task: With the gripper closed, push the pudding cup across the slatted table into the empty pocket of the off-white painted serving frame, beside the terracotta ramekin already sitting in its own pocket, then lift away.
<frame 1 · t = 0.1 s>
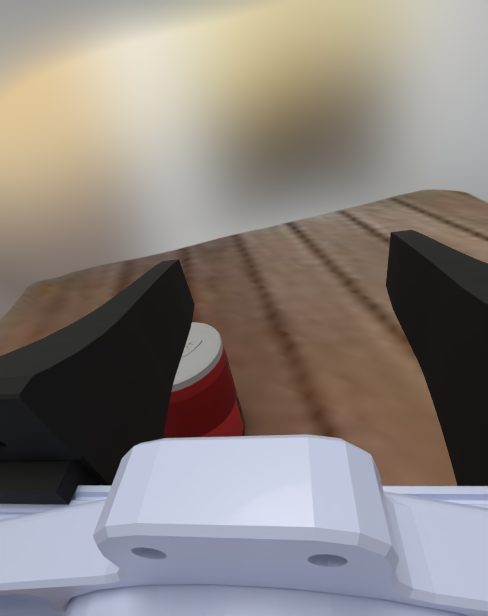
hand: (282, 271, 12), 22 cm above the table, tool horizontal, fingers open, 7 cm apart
canned food: (206, 436, 32), on the table
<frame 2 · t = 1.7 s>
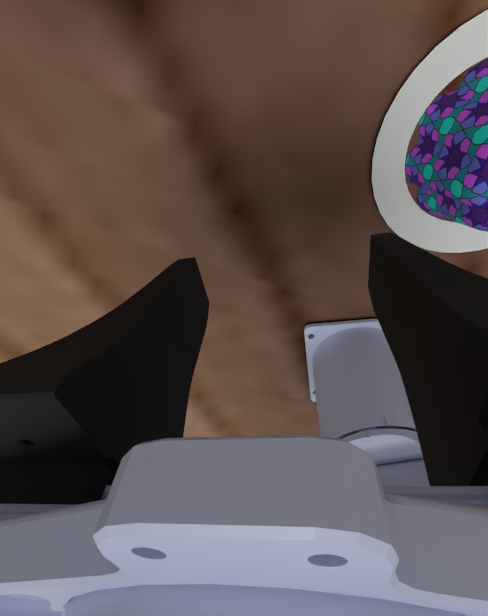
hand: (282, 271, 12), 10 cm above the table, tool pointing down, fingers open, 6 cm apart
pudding: (484, 145, 18), on the table
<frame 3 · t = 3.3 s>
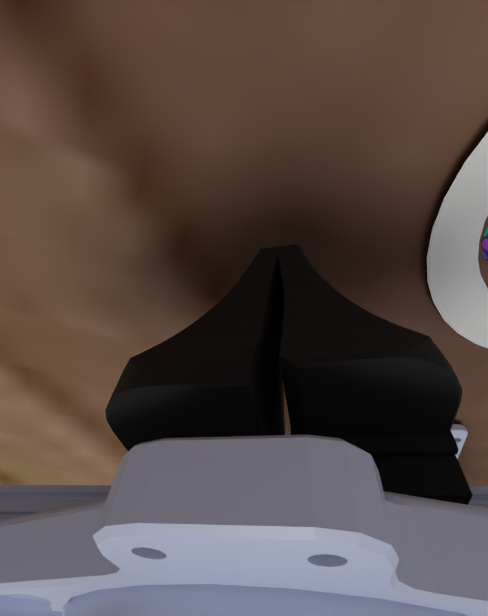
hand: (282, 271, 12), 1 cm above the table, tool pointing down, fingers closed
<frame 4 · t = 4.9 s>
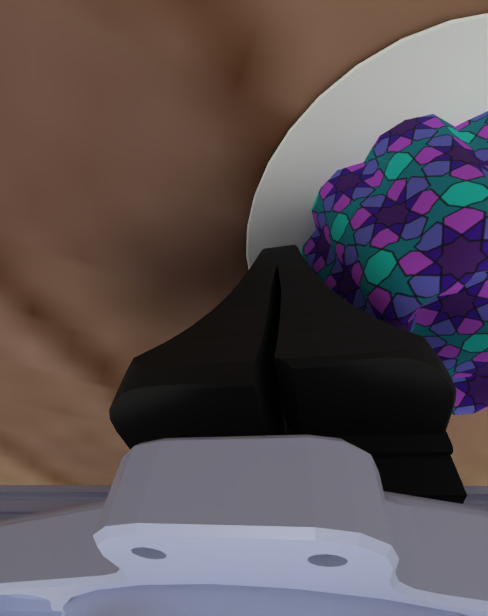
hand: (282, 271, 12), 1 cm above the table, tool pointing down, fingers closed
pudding: (416, 239, 12), on the table, touching gripper
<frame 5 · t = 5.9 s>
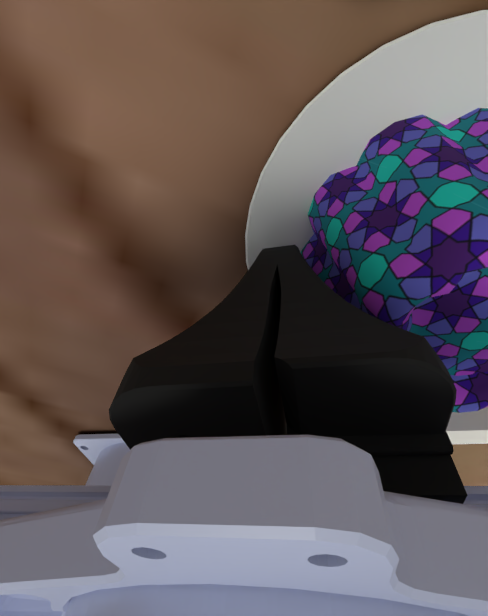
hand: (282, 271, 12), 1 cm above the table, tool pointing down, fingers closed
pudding: (415, 237, 12), on the table, touching gripper
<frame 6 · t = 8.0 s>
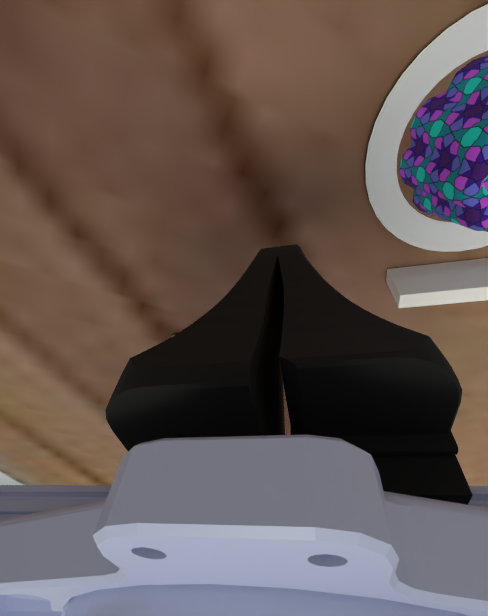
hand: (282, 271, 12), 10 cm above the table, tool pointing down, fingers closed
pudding: (478, 143, 18), on the table
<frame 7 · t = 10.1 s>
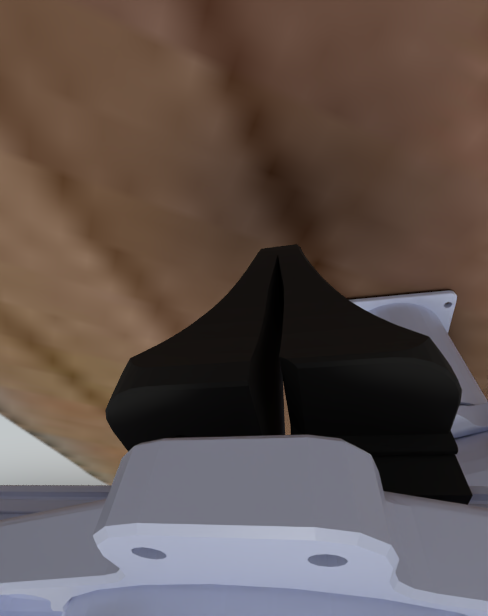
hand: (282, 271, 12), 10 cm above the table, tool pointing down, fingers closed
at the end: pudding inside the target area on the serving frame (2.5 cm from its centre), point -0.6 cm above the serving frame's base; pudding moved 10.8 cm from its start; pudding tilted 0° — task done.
